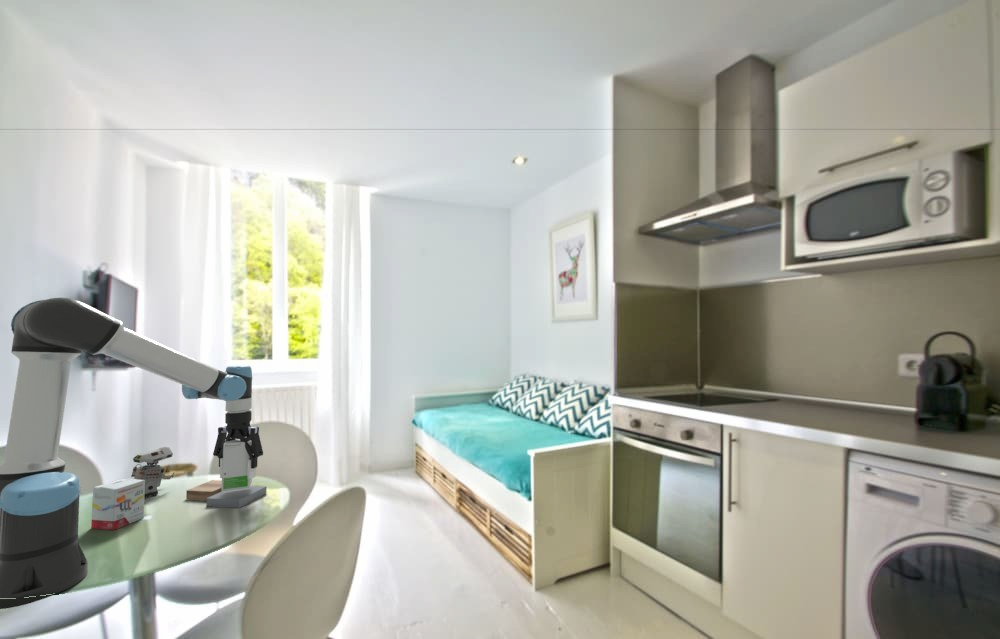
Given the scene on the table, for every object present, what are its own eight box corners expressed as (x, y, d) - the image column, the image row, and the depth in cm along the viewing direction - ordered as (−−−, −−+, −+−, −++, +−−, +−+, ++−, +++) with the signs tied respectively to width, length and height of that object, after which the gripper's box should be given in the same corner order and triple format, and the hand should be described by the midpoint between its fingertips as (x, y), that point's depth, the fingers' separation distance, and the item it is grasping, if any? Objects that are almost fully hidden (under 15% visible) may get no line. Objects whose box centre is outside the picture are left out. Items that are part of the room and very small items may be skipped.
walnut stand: (211, 500, 135) (212, 491, 136) (186, 499, 137) (186, 490, 137) (235, 489, 145) (236, 481, 145) (211, 488, 147) (211, 480, 147)
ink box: (113, 530, 115) (114, 488, 115) (90, 528, 117) (91, 487, 117) (145, 517, 123) (146, 478, 124) (123, 515, 125) (124, 476, 126)
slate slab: (239, 508, 129) (239, 500, 129) (206, 506, 131) (206, 498, 131) (266, 493, 141) (266, 486, 141) (236, 492, 143) (236, 484, 143)
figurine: (177, 489, 146) (178, 448, 147) (136, 500, 137) (137, 456, 137) (168, 485, 151) (169, 444, 152) (128, 495, 142) (129, 452, 142)
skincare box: (220, 492, 132) (221, 444, 132) (224, 485, 138) (225, 439, 138) (250, 487, 135) (251, 440, 136) (253, 481, 141) (253, 436, 142)
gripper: (275, 409, 139) (275, 474, 138) (219, 408, 143) (218, 472, 142) (259, 413, 132) (258, 482, 131) (200, 412, 136) (199, 479, 135)
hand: (237, 477), depth 136 cm, fingers closed on skincare box, 10 cm apart
